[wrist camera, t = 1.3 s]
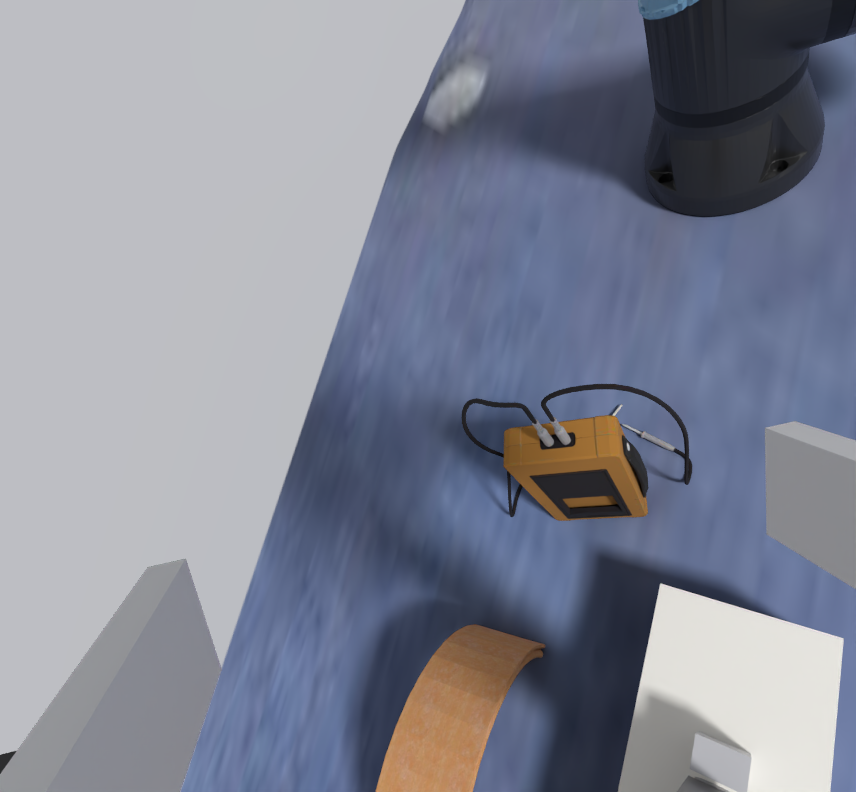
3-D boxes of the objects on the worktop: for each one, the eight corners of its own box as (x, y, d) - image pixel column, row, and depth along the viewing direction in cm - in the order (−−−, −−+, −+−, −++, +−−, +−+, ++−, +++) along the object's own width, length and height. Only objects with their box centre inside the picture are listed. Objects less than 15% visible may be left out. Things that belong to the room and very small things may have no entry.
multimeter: (681, 397, 43) (651, 228, 28) (702, 515, 38) (678, 390, 23) (513, 421, 50) (413, 294, 34) (512, 524, 45) (396, 431, 30)
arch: (548, 645, 39) (502, 631, 32) (488, 991, 32) (409, 1082, 24) (479, 624, 42) (422, 607, 35) (410, 935, 35) (318, 1000, 27)
